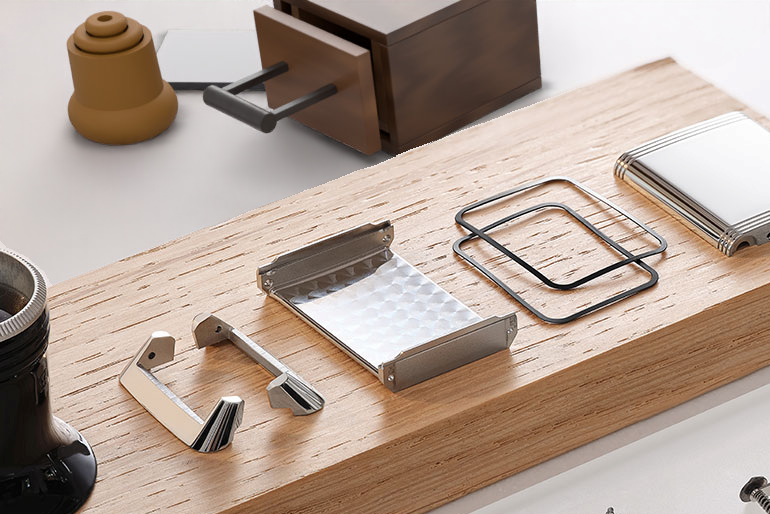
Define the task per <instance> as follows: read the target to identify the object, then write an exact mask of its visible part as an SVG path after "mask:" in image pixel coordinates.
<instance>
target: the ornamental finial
mask: <svg viewBox="0 0 770 514" xmlns="http://www.w3.org/2000/svg"><path fill="white" fill-rule="evenodd" d="M66 50H67V56H68V61H69V67H70V72H71V77H72V78H71V79H72V85H73V92H72V94H71V95H70V97H69V100H68V104H67V116H68V120H69V123H70V125H71V126H72V128H73V129H74V130H75V131H76V132H77V133H78V134H79V135H80V136H81V137H83V138H85V139H87V140H88V141H91V142H94V143H97V144H100V145H106V146H127V145H133V144H134V145H135V144H138V143H142V142H146V141H149V140H151V139H154V138H156V137H158V136H159V135H162V134H163V133H164V132H165V131H167V130H168V129H169V128H170V127H171V126H172V125H173V123H174V121H175V120H176V118H177V115H178V111H179V100H178V96H177V93H176V91H175V89H173V88H172V87H171V86H170V84H169V83H168V82H166V81H165V80H164V79H162V76H161V71H160V67H159V63H158V59H157V55H156V54H157V51H156V47H155V42H154V37H153V33H152V31H151V30H150V29H149V27H147V26H146V25H143V23H142V24H141V23H140V22H139V21H138V20H136V19H134V18H131V17H129V16H126V15H124V14H123V13H120V12H118V11H115V10H114V11H113V10H106V11H105V10H104V11H103V10H102V11H99V12H96V13H95V12H94V13H93V14H91V15H89V16H88V17H87V18H86V19H85V21H84V22H82V23H81V24H79V25H78V26H77V27H76V28H75V29H74V31H73V33H71V34H70V35H69V37H68V38H67V40H66Z"/></svg>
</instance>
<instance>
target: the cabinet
mask: <svg viewBox="0 0 770 514" xmlns="http://www.w3.org/2000/svg"><path fill="white" fill-rule="evenodd" d="M537 3H538V2H537V0H272V5H273V8H274V9H277V10H279V11H281V12H283V13H286V14H288V15H290V16H292V11H291V4H292V5H294V6H296V7H298V8H301V9H303V10H305V11H307V12H310V13H312V14H314V15H317V16H319V17H321V18H323V19H326V20H328V21H330V22H332V23H335V24H337V25H339V26H342V27H344V28H346V29H348V30H351V31H353V32H355V33H357V34H360V35H362V36H364V37H367V38H369V39H371V40H373V41H376V42H378V43H380V44H379V47H380V55H381V64H382V72H383V81H384V89H385V98H386V106H387V115H388V123H389V131H390V133H388V132H385V131H383V130H381V129H379V132H380V140H381V148H382V149H381V150H382V151H383V152H386V153H388V154H390V155H392V156H394V157H396V155H398V154H401V153H403V152H406V151H408V150H410V149H413V148H416V147H419V146H422V145H424V144H427V143H430V142H432V141H434V142H436V141H438V140H441V139H442V138H444V137H446V136H449V135H450V134H452V133H454V132H456V131H458V130H460V129H462V128H464V127H466V126H468V125H469V124H472V123H474V122H476V121H477V120H479V119H481V118H484V117H485V116H488V115H489V114H491V113H493V112H496V111H497V110H499V109H502V108H503V107H504V106H505V107H506V106H507V105H509V104H510V103H513V102H515V101H517V100H519V99H521V98H523V97H524V96H527V95H529V94H530V93H532V92H535V91H536V90H538V89H540V88H542V87H543V80H542V67H541V51H540V35H539V22H538V5H537ZM437 139H438V140H437ZM435 140H436V141H435ZM432 143H433V142H432ZM430 144H431V143H430ZM381 150H380V151H381Z"/></svg>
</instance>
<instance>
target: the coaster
mask: <svg viewBox="0 0 770 514" xmlns="http://www.w3.org/2000/svg"><path fill="white" fill-rule="evenodd" d="M156 55H157V59H158V63H159V67H160V71H161V76H162V79H164V80H165V81H166V82H168V83H169V84H170V86H171V87H172V88H173V90H196V91H197V90H198V91H199V90H204V91H205V89H206V88H207V87H209V86H211V85H214V86H217V87H219V88H223V87H225V86H227V85H230V84H232V83H234V82H236V81H239V80H241V79H243V78H245V77H247V76H250V75H252V74H254V73H256V72H258V71H261V70H262V65H261V58H260V52H259V46H258V39H257V33H256V29H253V30H252V29H251V30H250V29H249V30H248V29H247V30H246V29H243V30H242V29H239V30H238V29H168V30H167V31H166V33H165V36H164V38H163V39H162V41H161V44H160V45H159V48H158V50H157V51H156ZM247 91H266V90H265V84H264V82H263V83H261V84H259V85H257V86H254V87H252V88H250V89H248V90H247Z"/></svg>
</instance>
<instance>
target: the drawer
mask: <svg viewBox="0 0 770 514" xmlns="http://www.w3.org/2000/svg"><path fill="white" fill-rule="evenodd" d="M291 11H292V16H290V15H288V14H286V13H283V12H281V11H279V10H277V9H274V7H272V6H270V5H268V4H264V5H262V6H260V7H258V8H256V9H253V10H252V14H253V20H254V27H255V30H256V33H257V39H258V46H259V52H260V58H261V65H262V70H261V71H258V72H256V73H254V74H252V75H250V76H247V77H245V78H243V79H241V80H239V81H236V82H234V83H232V84H230V85H227V86H225V87H223V88H219V87H217V86H214V85H211V86H209V87H207V88H206V89H205V90H204V91H203V93H202V101H203V103H204V104H205V105H206V106H208V107H209V108H213V109H215V110H216V111H218V112H220V113H223V114H225V115H226V116H228V117H230V118H233V120H236V121H239V122H240V123H242V124H244V125H247V126H249V127H251V128H253V129H255V130H256V131H259V132H261V133H263V134H266V135H267V134H271V133H273V131H275V129H276V127H277V124H278V122H280V121H281V120H284V119H286V118H290V119H292V120H294V121H296V122H298V123H300V124H302V125H303V126H306V127H308V128H310V129H312V130H315V131H317V132H318V133H320V134H323V135H325V136H327V137H329V138H331V139H334V140H335V141H338V142H339V143H341V144H344V145H345V146H347V147H350V148H352V149H354V150H356V151H357V152H361V153H363V154H364V155H367V156H371V155H374V154H375V153H377V152H379V151H381V149H382V148H381V140H380V132H379V129H381V130H383V131H385V132H388V133H390V131H389V123H388V115H387V106H386V98H385V89H384V81H383V72H382V64H381V55H380V47H379V44H380V43H378V42H376V41H373V40H371V39H369V38H367V37H364V36H362V35H360V34H357V33H355V32H353V31H351V30H348V29H346V28H344V27H342V26H339V25H337V24H335V23H332V22H330V21H328V20H326V19H323V18H321V17H319V16H317V15H314V14H312V13H310V12H307V11H305V10H303V9H301V8H298V7H296V6H294V5H292V4H291ZM263 82H264V84H265V90H264V91H265V97H266V103H267V107H268V109H271V110H270V111H269V110H266V109H264V108H263V107H260V106H258V105H256V104H255V103H252V102H250V101H248V100H246V99H244V98H242V97H240V96H238V95H239V94H241V93H243V92H245V91H249V90H248V89H250V88H252V87H254V86H257V85H259V84H261V83H263Z"/></svg>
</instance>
